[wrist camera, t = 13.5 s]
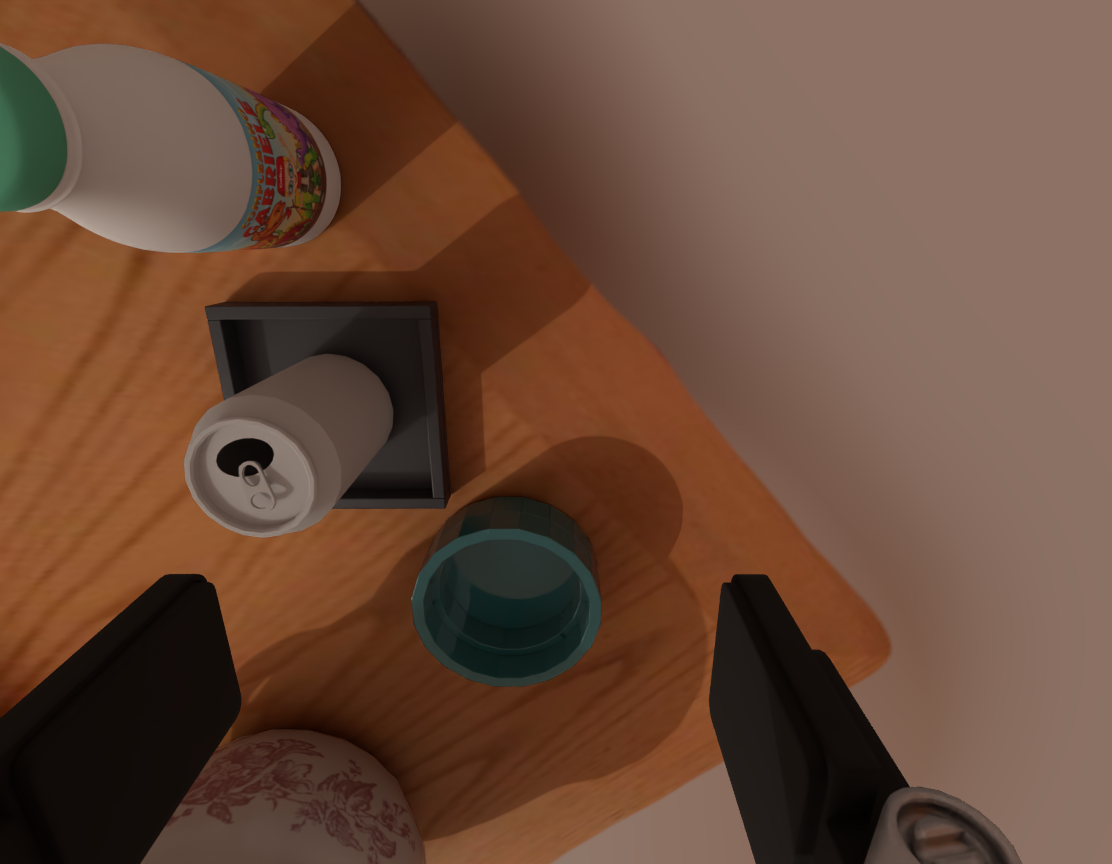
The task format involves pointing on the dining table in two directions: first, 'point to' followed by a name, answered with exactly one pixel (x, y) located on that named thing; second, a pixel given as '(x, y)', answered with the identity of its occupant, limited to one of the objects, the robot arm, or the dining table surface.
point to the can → (288, 446)
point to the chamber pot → (291, 807)
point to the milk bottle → (159, 152)
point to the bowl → (508, 593)
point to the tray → (382, 346)
